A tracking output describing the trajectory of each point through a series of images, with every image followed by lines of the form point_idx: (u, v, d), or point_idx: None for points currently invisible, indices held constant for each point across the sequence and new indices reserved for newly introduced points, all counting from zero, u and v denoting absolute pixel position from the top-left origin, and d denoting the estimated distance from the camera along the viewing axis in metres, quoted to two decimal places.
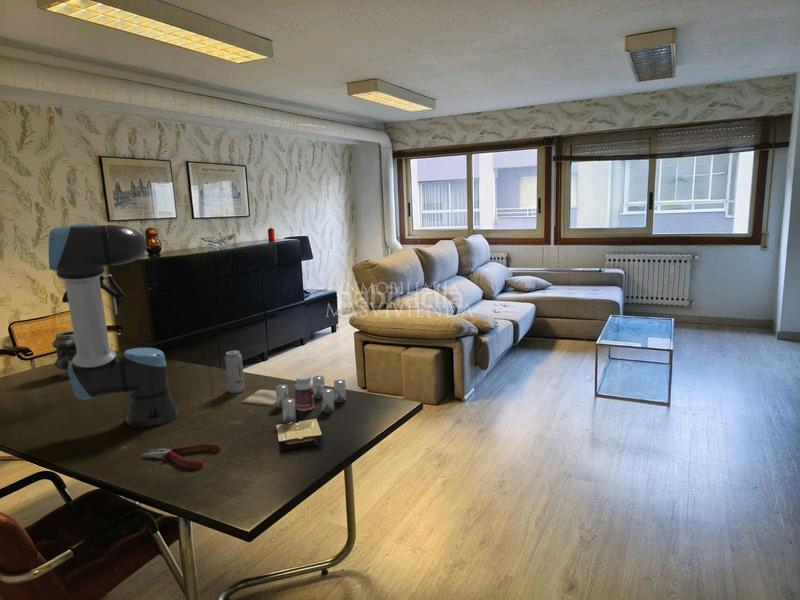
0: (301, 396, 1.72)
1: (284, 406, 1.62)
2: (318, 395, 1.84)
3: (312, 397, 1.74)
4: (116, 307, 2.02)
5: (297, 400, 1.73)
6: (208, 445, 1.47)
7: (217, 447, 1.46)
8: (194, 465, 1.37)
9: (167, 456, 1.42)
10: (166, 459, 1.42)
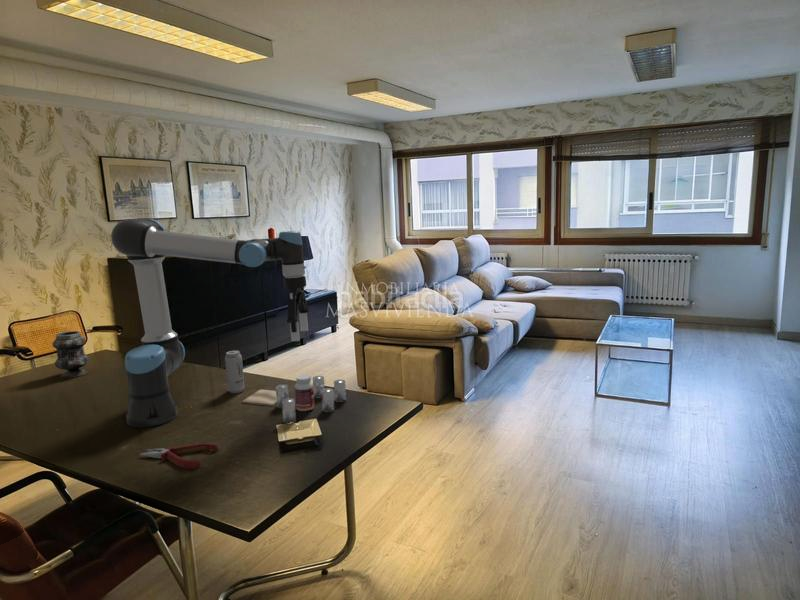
0: (301, 396, 1.72)
1: (284, 406, 1.62)
2: (318, 395, 1.84)
3: (312, 397, 1.74)
4: None
5: (297, 400, 1.73)
6: (206, 445, 1.47)
7: (215, 447, 1.46)
8: (192, 465, 1.37)
9: (165, 456, 1.42)
10: (164, 459, 1.42)
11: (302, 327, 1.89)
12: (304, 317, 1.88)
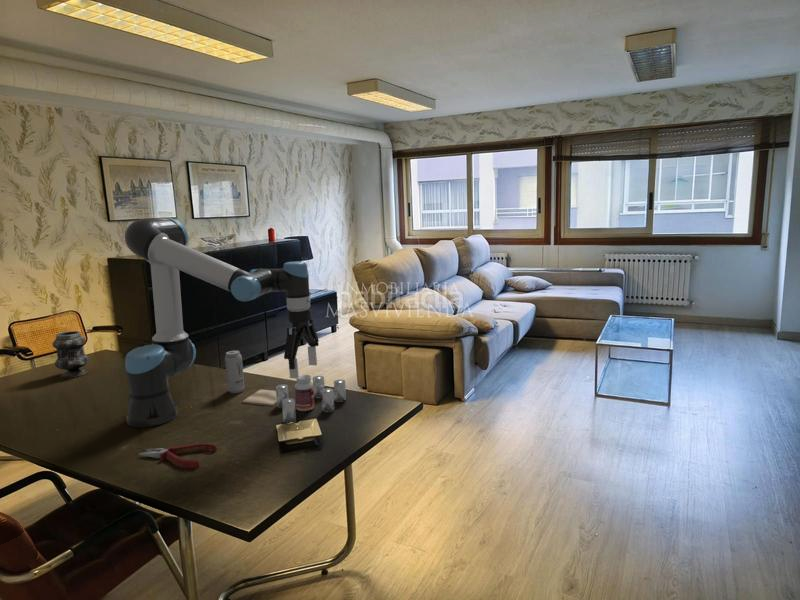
0: (301, 396, 1.72)
1: (284, 406, 1.62)
2: (318, 395, 1.84)
3: (312, 397, 1.74)
4: (289, 369, 1.66)
5: (297, 400, 1.73)
6: (205, 445, 1.47)
7: (214, 447, 1.46)
8: (190, 465, 1.37)
9: (164, 456, 1.42)
10: (163, 459, 1.42)
11: (310, 361, 1.79)
12: (312, 351, 1.78)
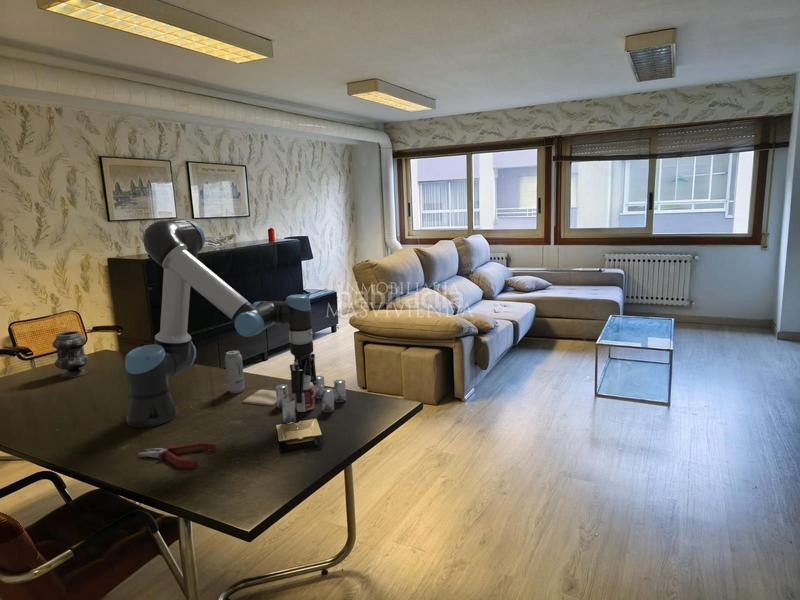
0: None
1: (284, 406, 1.62)
2: (318, 395, 1.84)
3: (312, 397, 1.74)
4: None
5: None
6: (204, 445, 1.47)
7: (213, 447, 1.46)
8: (189, 465, 1.37)
9: (163, 455, 1.42)
10: (162, 458, 1.42)
11: None
12: None
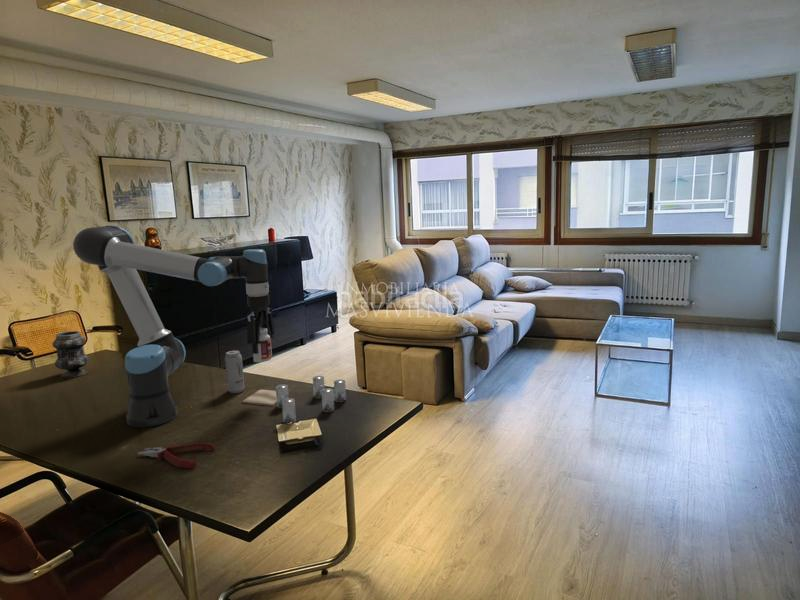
0: None
1: (284, 406, 1.62)
2: (318, 395, 1.84)
3: (269, 349, 1.81)
4: (253, 353, 1.79)
5: None
6: (202, 444, 1.47)
7: (211, 446, 1.46)
8: (187, 464, 1.37)
9: (161, 455, 1.42)
10: (160, 458, 1.42)
11: None
12: None
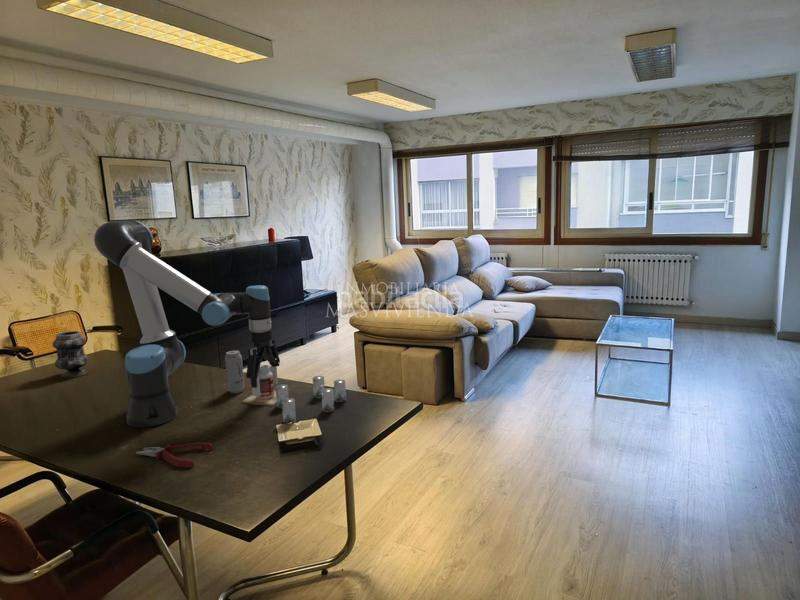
0: (261, 385, 1.81)
1: (284, 406, 1.62)
2: (318, 395, 1.84)
3: (271, 386, 1.83)
4: (252, 387, 1.79)
5: None
6: (201, 444, 1.47)
7: (209, 446, 1.47)
8: (185, 464, 1.37)
9: (160, 455, 1.43)
10: (159, 458, 1.42)
11: None
12: (273, 371, 1.89)
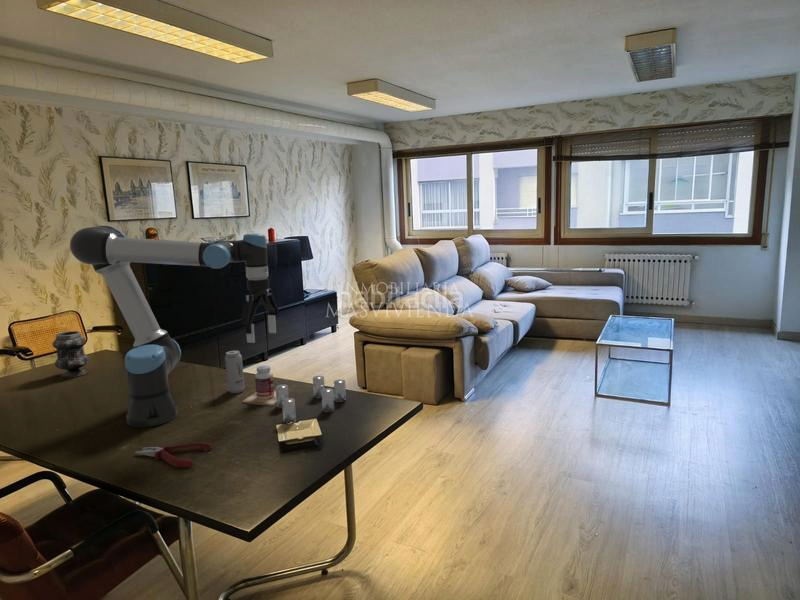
0: (261, 385, 1.81)
1: (284, 406, 1.62)
2: (318, 395, 1.84)
3: (271, 386, 1.83)
4: (246, 334, 1.78)
5: (257, 389, 1.82)
6: (200, 444, 1.47)
7: (208, 446, 1.47)
8: (184, 464, 1.37)
9: (158, 454, 1.43)
10: (157, 457, 1.43)
11: (270, 329, 1.90)
12: (272, 319, 1.89)
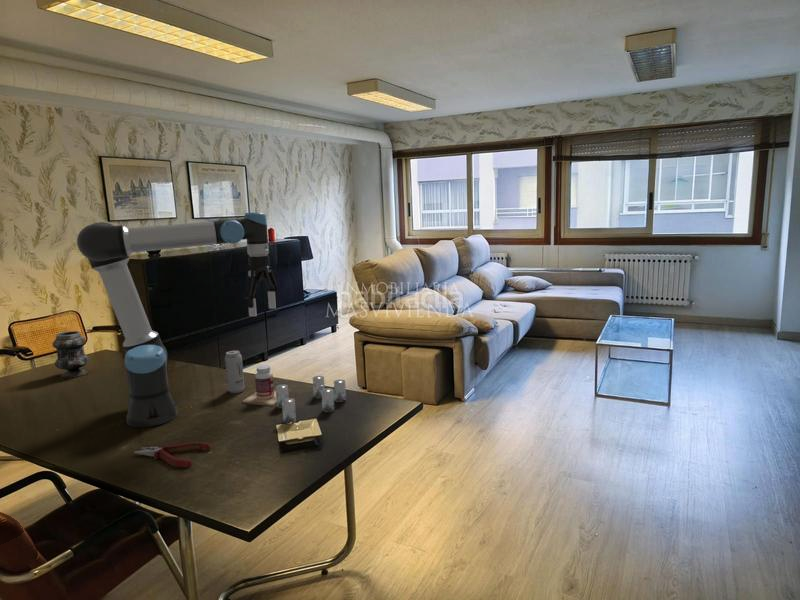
0: (261, 385, 1.81)
1: (284, 406, 1.62)
2: (318, 395, 1.84)
3: (271, 386, 1.83)
4: None
5: (257, 389, 1.82)
6: (199, 444, 1.47)
7: (207, 446, 1.47)
8: (183, 464, 1.38)
9: (157, 454, 1.43)
10: (156, 457, 1.43)
11: (270, 305, 1.99)
12: (272, 295, 1.98)
